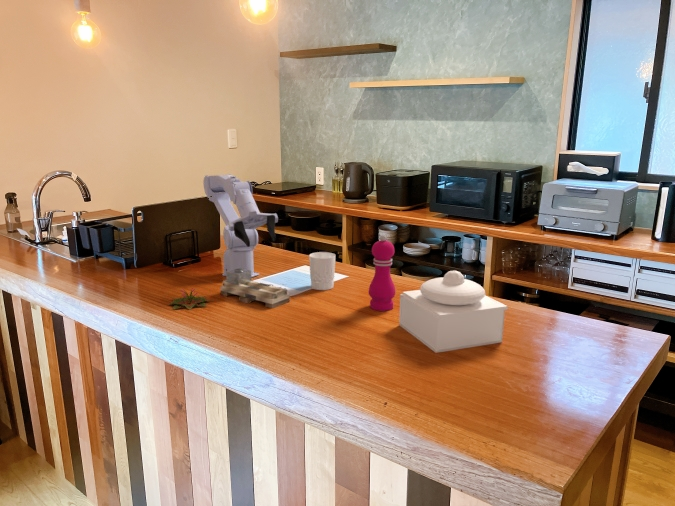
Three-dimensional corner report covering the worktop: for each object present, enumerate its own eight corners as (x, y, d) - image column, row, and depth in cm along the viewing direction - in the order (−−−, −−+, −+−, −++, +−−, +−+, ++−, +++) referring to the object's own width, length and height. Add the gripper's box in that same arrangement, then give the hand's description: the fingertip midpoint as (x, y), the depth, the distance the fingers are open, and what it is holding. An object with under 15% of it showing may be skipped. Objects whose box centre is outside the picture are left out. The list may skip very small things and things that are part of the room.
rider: (226, 286, 154) (226, 270, 153) (239, 282, 158) (238, 266, 157) (239, 289, 151) (238, 273, 150) (251, 285, 155) (251, 269, 154)
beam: (218, 295, 154) (217, 282, 153) (241, 287, 161) (240, 275, 160) (269, 309, 142) (269, 295, 142) (291, 300, 150) (291, 287, 149)
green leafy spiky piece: (213, 310, 143) (212, 294, 142) (166, 314, 140) (165, 297, 139) (210, 296, 154) (209, 281, 153) (167, 299, 151) (166, 284, 150)
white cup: (336, 283, 166) (336, 252, 163) (333, 291, 158) (334, 258, 156) (311, 282, 167) (311, 251, 164) (307, 290, 159) (307, 257, 157)
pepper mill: (393, 312, 141) (396, 238, 136) (366, 310, 142) (367, 237, 137) (396, 303, 148) (398, 232, 143) (370, 302, 149) (371, 231, 144)
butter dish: (399, 325, 132) (401, 263, 128) (461, 317, 138) (465, 257, 134) (435, 353, 116) (439, 283, 112) (504, 342, 122) (510, 276, 119)
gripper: (224, 204, 155) (236, 236, 147) (271, 196, 160) (286, 226, 152) (225, 222, 161) (237, 254, 152) (271, 213, 165) (285, 243, 157)
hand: (261, 241), depth 153 cm, fingers open, 7 cm apart
